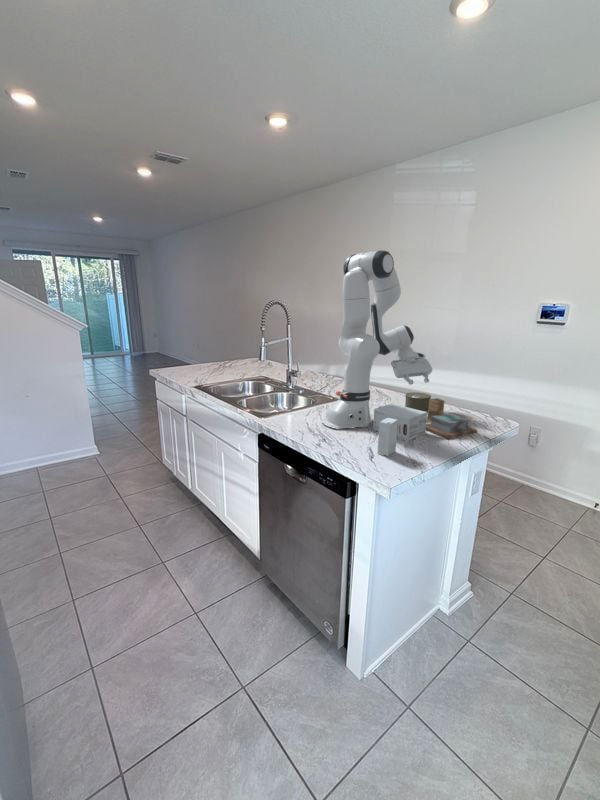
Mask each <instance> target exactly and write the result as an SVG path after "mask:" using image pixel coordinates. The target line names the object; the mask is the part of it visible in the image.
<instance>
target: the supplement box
mask: <svg viewBox="0 0 600 800" xmlns="http://www.w3.org/2000/svg"><path fill="white" fill-rule="evenodd" d="M373 410H374V411H373V422H372V423H373V424H372V430H373V429H374V430H373V431H376V430H377V431H376V432H379V424H380V422H381V421H382V420H384V419H386V418H392V419H397V420H398V426H397V437H398V438H397V439H401V440H405V441H410V440H413V439H415V438H417V437H420V436H422V435H424V434H427V433H426V432H427V430H426V424H427V420H428V411H426V412H424V411H420V410H416V409H412V408H408V407H405V406H404V405H399V404H395V403H390V404H389V403H388V404H386V405H383V406H379V407H376V408H374V409H373Z"/></svg>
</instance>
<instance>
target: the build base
mask: <svg viewBox="0 0 600 800" xmlns="http://www.w3.org/2000/svg"><path fill="white" fill-rule="evenodd" d="M469 422H470V420H469V419H467V418H466V417H465V418H464V417H462V416H459V415H456V414H453V413H451V412H449V413H443V414H442V415H436V416H432V418H431V421H430V423H426V432H429V433H431V434H434V435H435V436H439V437H441V438H442V439H446V440H451V439H454V437H456V438H459V437H458V436H461V437H464V436H463V435H466V436H470V435H469V434H471V435H475V434H474V433H476V434H478V429H477V428H473V427H470V426H469ZM450 438H451V439H450Z"/></svg>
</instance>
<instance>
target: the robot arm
mask: <svg viewBox="0 0 600 800" xmlns="http://www.w3.org/2000/svg"><path fill="white" fill-rule="evenodd" d="M342 268H343V274H344V276H343V280H342V289H341V293H342V295H341V297H342V301H341V302H342V328H341V333H340V337H339V339H338V348H339V349H340V351H341V352H342V354H343V355H345V356H346V357H348V363H347V366H346V369H345V370H344V374H343V389H342V391H339V390H336V392H335V395H336V396H338V397H339V399H337V400H336V401H335V402H334V403H333V404H332V405H330V406H329V407H328V408H327V410H326V411H327V412H326V414H325V415H326V416H325V417H322V418H321V419H322V420H325V421H323V422H324V423H325V424H327V425H329V426H331V427H335V428H349V429H352V428H351V427H361V428H368V427H369V426H370V424H371V423H373V422H372V417H371V412H370V399H371V390H370V383H371V382H370V379H371V371H372V367H373V365H374V361H375V359H376V358H377V357H378V355H382V356H386V355H388V354H390V353H391V352H392V353H393V354H394V355H395V359H394V360H392V361H391V363H390V365H391V367H392V371H393V374H394V376H395V377H396V378H397V379H404V381H405V382H407V383H408V385H413V384H414V383H415V382H414V380H413V379H411V378H413V377H414V378H415V377H420V376H421V377H423V378H424V379H423V382H424V383H429V382H430V379H429V375H430V374H431V373H432V372H433V367H432V365H431V363H430V362H429V360H428V359H426V355H425V353H421V352H417V351H414V349H413V348H412V347H411V345H412V344H413V341H414V339H415V336H414V333H413V332H412V329H411V328H410V327H409V326H407V325H405V324H403V325H400V326H397V327H394V328H393V329H390V330H388V331H385V332H384V329H383V321H382V320H383V316H384V315H385V313H387V312H388V311H389V309H390V308H392V307H394V305H396V303H397V302H398V301H399V298H400V296H401V294H402V293H401V292H402V291H401V285H400V284H401V283H400V280H399V277H398V274H397V271H396V269H395V262H394V258H393V256H392V254H391V253H390V252H389V251H387V250H376V251H375V250H374V251H363V252H360V253H359V252H358V253H356V254H351V255H350V256H347V258H346V259H345V260H344V263H343V267H342ZM369 281H371V283H372V287H373V290H374V299H373V302H372V303H371V302H370V301H371V298H370V286H369ZM370 303H371V304H370ZM370 318H371V325H372V335H371V334H369V333H366V331H367V326H368V323H369V322H368V321H369V320H370Z"/></svg>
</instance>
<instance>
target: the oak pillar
mask: <svg viewBox="0 0 600 800" xmlns="http://www.w3.org/2000/svg"><path fill="white" fill-rule="evenodd" d="M444 409H445V400H444V399H440V398H431V399H429V409H428V411H427V420H431V418H432V416H436V415H442V414H444Z"/></svg>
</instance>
